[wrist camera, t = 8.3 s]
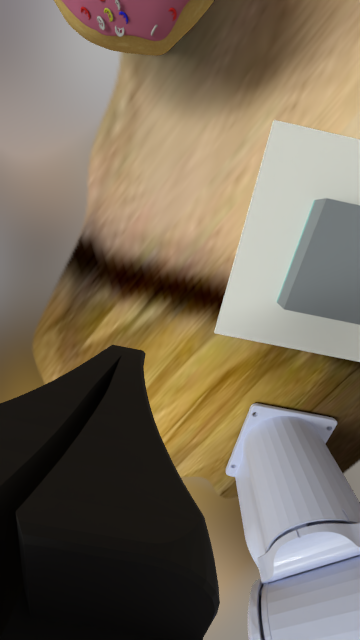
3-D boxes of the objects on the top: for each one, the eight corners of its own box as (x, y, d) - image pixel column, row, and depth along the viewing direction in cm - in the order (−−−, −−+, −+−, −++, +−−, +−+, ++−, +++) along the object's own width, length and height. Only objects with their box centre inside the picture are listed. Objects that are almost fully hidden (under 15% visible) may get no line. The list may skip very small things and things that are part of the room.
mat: (379, 364, 20) (381, 366, 20) (214, 331, 20) (214, 333, 20) (495, 172, 15) (501, 171, 15) (272, 122, 14) (274, 119, 14)
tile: (283, 309, 17) (366, 326, 17) (326, 198, 14) (425, 219, 14) (276, 301, 18) (353, 317, 19) (314, 199, 16) (403, 219, 16)
